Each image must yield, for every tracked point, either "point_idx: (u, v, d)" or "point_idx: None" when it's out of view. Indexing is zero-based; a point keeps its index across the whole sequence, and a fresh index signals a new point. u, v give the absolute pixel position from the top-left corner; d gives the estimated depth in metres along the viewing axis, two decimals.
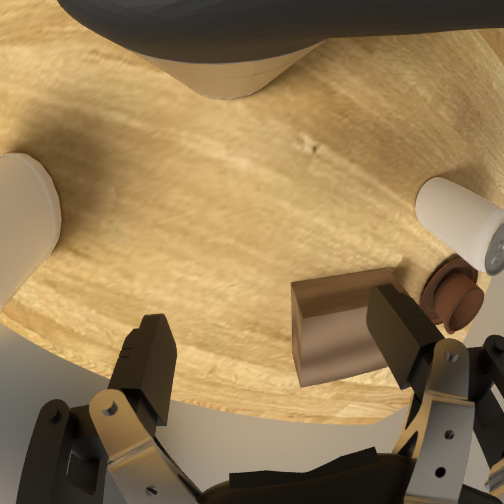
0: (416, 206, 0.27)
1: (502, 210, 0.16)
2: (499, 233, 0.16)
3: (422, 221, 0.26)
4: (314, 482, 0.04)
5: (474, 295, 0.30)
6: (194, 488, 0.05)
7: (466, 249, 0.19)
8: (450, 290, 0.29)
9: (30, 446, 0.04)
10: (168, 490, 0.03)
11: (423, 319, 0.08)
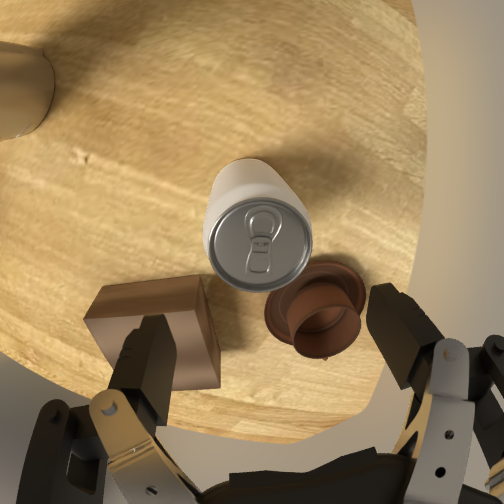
0: None
1: (256, 184, 0.14)
2: (236, 223, 0.14)
3: None
4: (314, 482, 0.04)
5: (354, 312, 0.28)
6: (194, 488, 0.05)
7: None
8: (297, 305, 0.27)
9: (30, 446, 0.04)
10: (168, 490, 0.03)
11: (423, 319, 0.08)
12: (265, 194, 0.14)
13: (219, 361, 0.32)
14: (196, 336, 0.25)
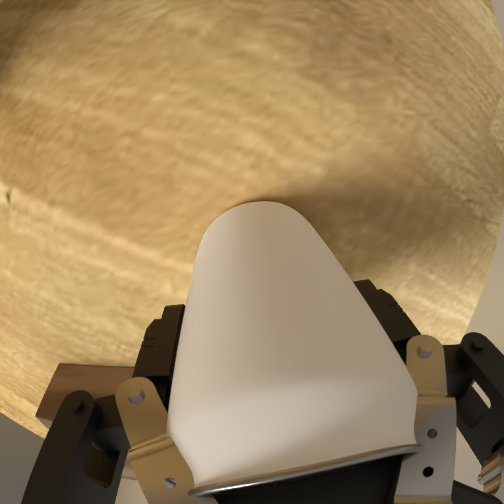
0: None
1: (319, 385, 0.04)
2: None
3: None
4: (314, 482, 0.04)
5: None
6: None
7: None
8: None
9: (48, 435, 0.04)
10: (187, 484, 0.04)
11: (400, 315, 0.08)
12: (347, 429, 0.03)
13: None
14: None
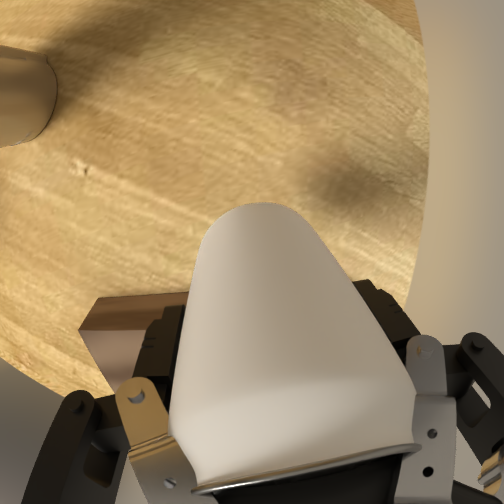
0: None
1: (318, 385, 0.04)
2: None
3: None
4: (314, 482, 0.04)
5: None
6: None
7: None
8: None
9: (48, 435, 0.04)
10: (187, 484, 0.04)
11: (400, 315, 0.08)
12: (347, 428, 0.04)
13: None
14: None
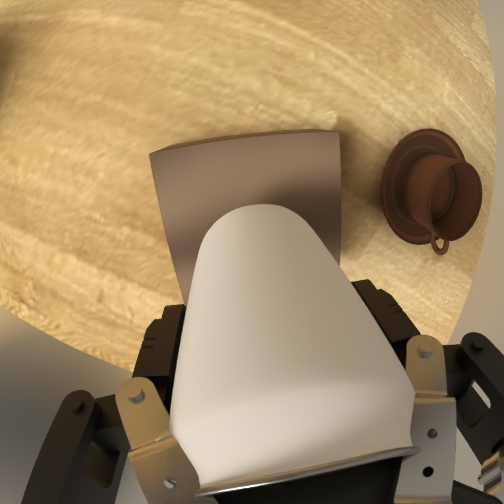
0: None
1: (319, 390, 0.04)
2: None
3: None
4: (314, 482, 0.04)
5: (468, 191, 0.20)
6: None
7: None
8: (423, 167, 0.20)
9: (48, 435, 0.04)
10: (187, 484, 0.04)
11: (400, 315, 0.08)
12: (347, 432, 0.04)
13: None
14: (332, 179, 0.17)
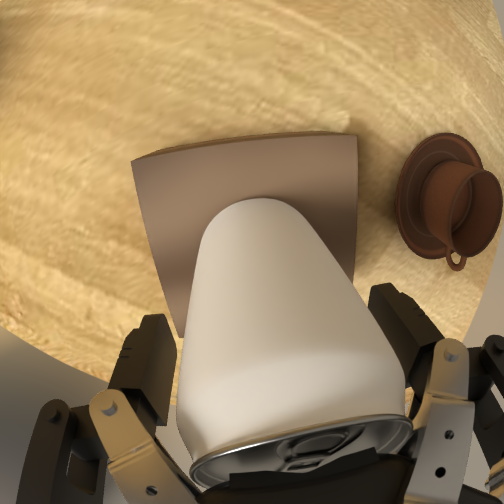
0: None
1: (312, 357, 0.05)
2: (254, 449, 0.05)
3: None
4: (314, 482, 0.04)
5: (487, 202, 0.18)
6: (194, 488, 0.05)
7: None
8: (443, 176, 0.17)
9: (30, 446, 0.04)
10: (168, 490, 0.03)
11: (423, 319, 0.08)
12: (337, 396, 0.04)
13: None
14: (348, 192, 0.15)
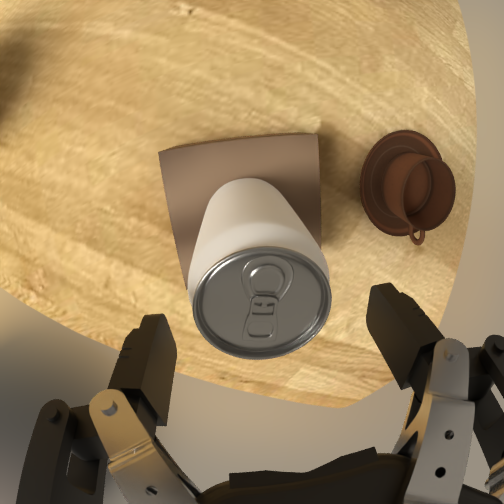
0: None
1: (259, 224, 0.11)
2: (230, 278, 0.10)
3: None
4: (314, 482, 0.04)
5: (443, 186, 0.24)
6: (194, 488, 0.05)
7: None
8: (398, 164, 0.23)
9: (30, 446, 0.04)
10: (168, 490, 0.03)
11: (423, 319, 0.08)
12: (270, 240, 0.10)
13: None
14: (312, 174, 0.21)
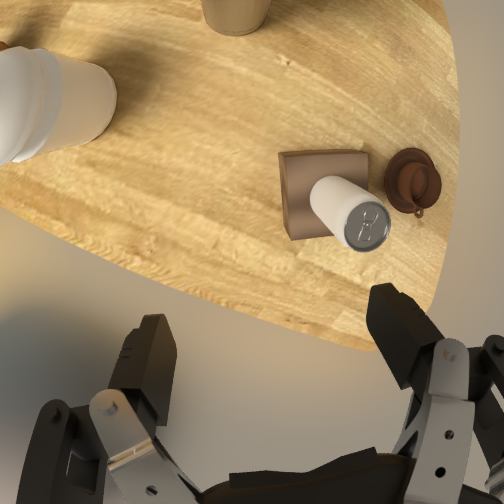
0: (310, 201, 0.37)
1: (365, 194, 0.27)
2: (358, 213, 0.26)
3: (315, 213, 0.37)
4: (314, 482, 0.04)
5: (434, 182, 0.39)
6: (194, 488, 0.05)
7: (333, 230, 0.29)
8: (407, 169, 0.39)
9: (30, 446, 0.04)
10: (168, 490, 0.03)
11: (423, 319, 0.08)
12: (371, 200, 0.26)
13: None
14: (364, 175, 0.36)
